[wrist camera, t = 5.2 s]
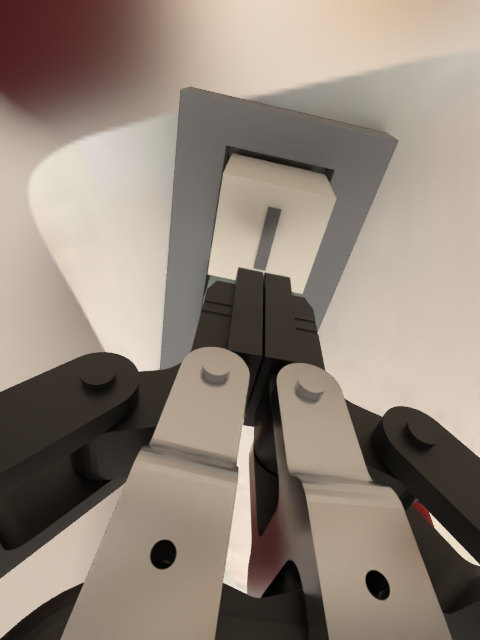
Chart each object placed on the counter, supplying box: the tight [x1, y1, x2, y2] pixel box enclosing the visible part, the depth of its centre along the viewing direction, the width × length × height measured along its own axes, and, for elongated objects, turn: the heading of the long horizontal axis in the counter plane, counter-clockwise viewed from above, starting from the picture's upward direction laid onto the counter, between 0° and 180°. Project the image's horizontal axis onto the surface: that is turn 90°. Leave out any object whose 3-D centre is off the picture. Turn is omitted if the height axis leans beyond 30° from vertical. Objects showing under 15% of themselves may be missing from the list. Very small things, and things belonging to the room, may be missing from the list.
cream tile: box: [208, 153, 337, 294], centre depth 15 cm, size 4×4×4 cm
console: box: [160, 87, 398, 370], centre depth 20 cm, size 9×19×2 cm, turn 169°
